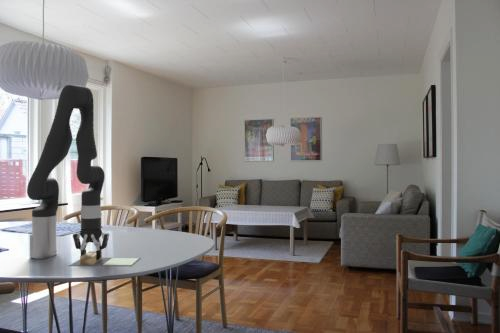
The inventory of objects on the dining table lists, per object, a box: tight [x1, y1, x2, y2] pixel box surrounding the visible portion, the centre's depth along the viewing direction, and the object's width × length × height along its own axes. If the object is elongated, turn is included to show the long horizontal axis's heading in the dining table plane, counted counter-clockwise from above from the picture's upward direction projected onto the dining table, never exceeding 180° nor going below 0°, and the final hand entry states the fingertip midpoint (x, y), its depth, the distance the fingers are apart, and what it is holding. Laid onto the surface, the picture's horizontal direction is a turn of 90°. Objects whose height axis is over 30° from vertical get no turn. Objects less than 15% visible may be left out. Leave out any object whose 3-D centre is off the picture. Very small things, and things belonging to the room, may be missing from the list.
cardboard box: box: [79, 250, 103, 265], centre depth 164 cm, size 5×9×3 cm, turn 0°
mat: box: [68, 257, 142, 268], centre depth 164 cm, size 24×14×1 cm, turn 90°
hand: (91, 259), depth 164 cm, fingers closed on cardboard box, 5 cm apart
